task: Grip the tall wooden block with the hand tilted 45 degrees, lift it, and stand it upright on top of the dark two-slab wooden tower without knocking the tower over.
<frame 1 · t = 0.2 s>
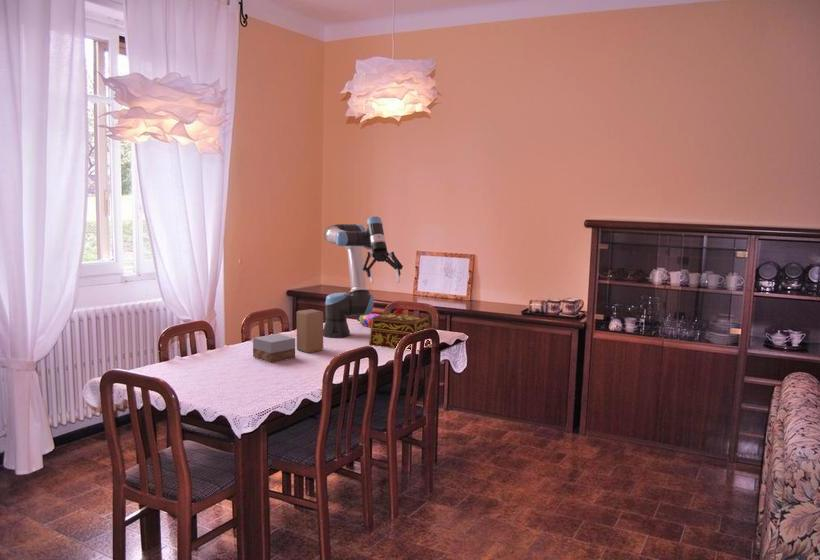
hand: (385, 282, 323), 36 cm above the table, tool tilted 35°, fingers open, 13 cm apart
decorative box: (400, 345, 346), on the table
wooden block: (309, 350, 330), on the table
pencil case: (373, 328, 390), on the table
tower base block: (274, 358, 314), on the table, touching tower top block
educational toy: (400, 334, 375), on the table
tower top block: (274, 348, 313), point 5 cm above the table, touching tower base block
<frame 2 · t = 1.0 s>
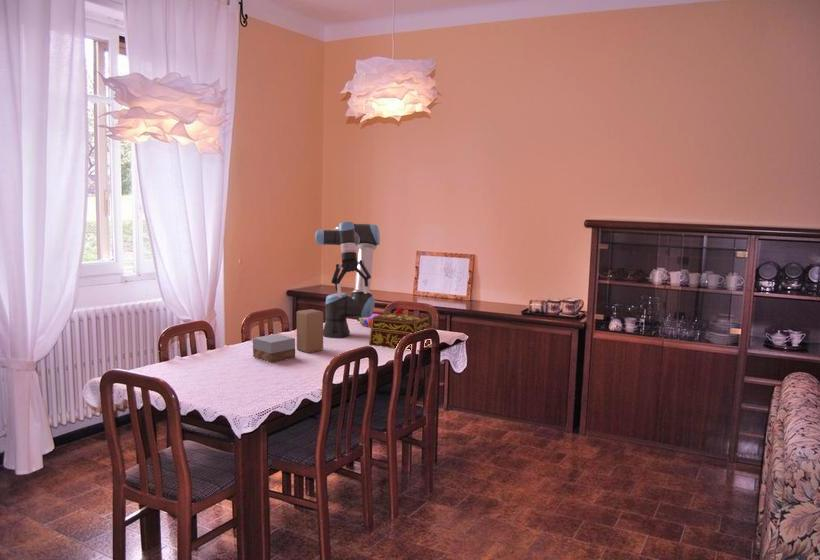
hand: (352, 295, 321), 29 cm above the table, tool tilted 20°, fingers open, 13 cm apart
tower base block: (274, 358, 314), on the table
tower top block: (273, 348, 313), point 4 cm above the table
everything else where it was.
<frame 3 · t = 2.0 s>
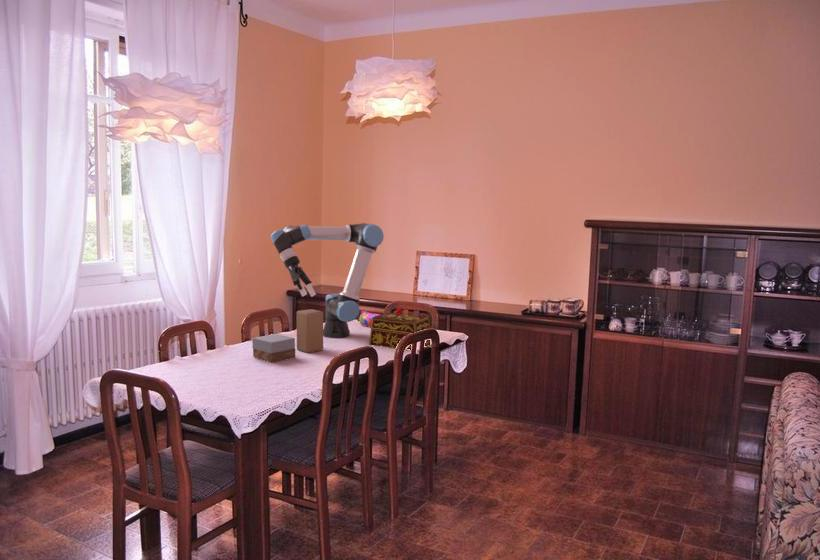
hand: (309, 295, 330), 27 cm above the table, tool tilted 35°, fingers open, 13 cm apart
tower base block: (274, 358, 314), on the table, touching tower top block
tower top block: (273, 348, 313), point 5 cm above the table, touching tower base block
everything else where it was.
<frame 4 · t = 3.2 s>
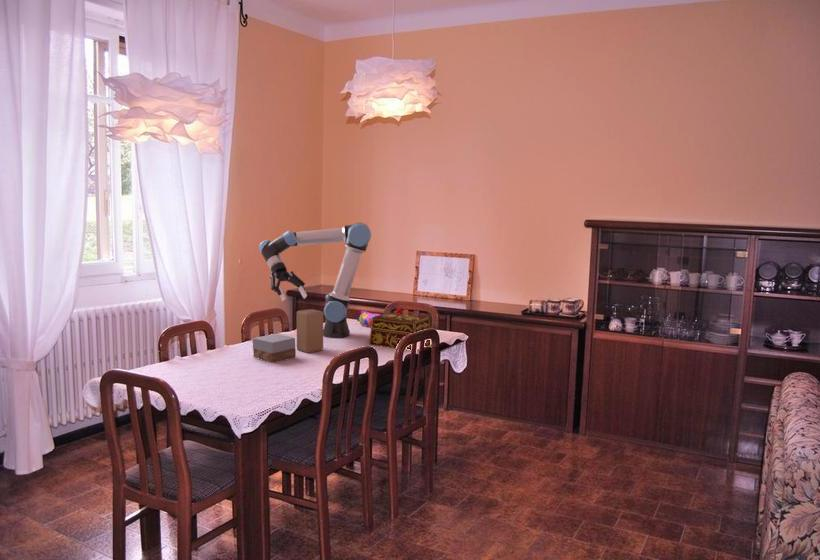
hand: (295, 298, 334), 25 cm above the table, tool tilted 45°, fingers open, 13 cm apart
nothing on the table moved.
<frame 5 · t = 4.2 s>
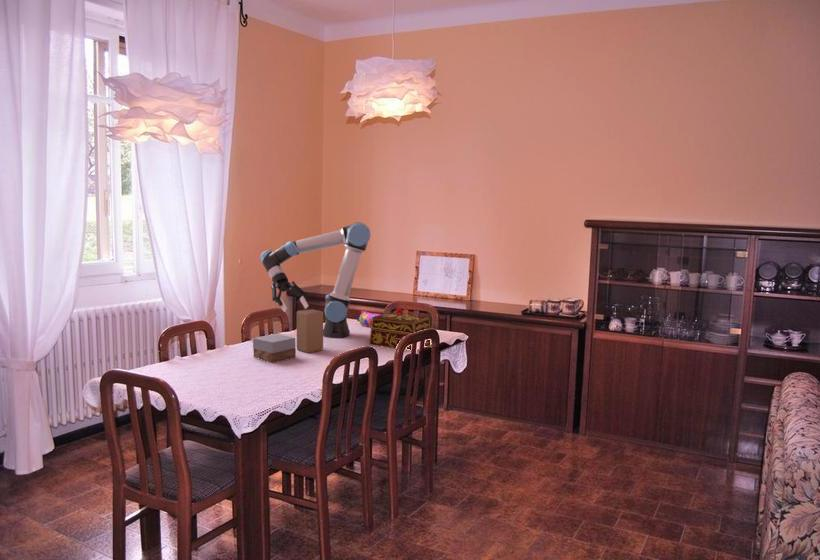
hand: (296, 308, 334), 20 cm above the table, tool tilted 45°, fingers open, 13 cm apart
nothing on the table moved.
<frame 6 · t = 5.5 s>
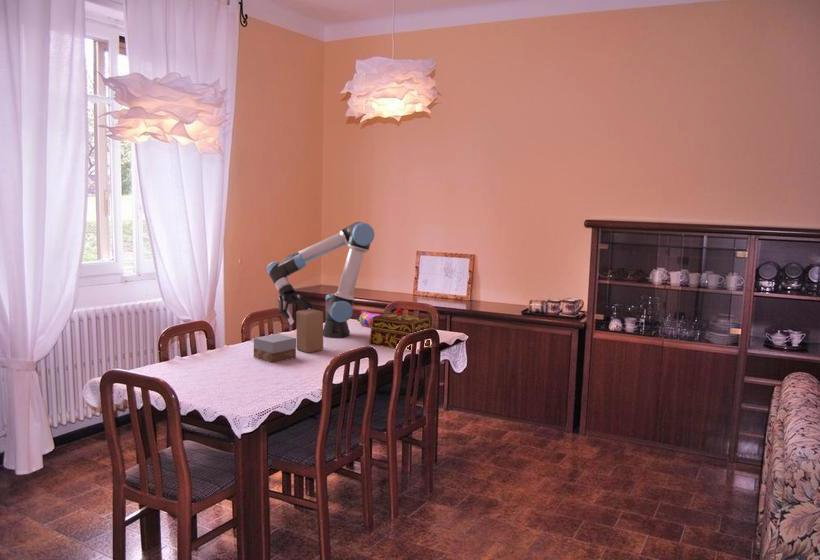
hand: (303, 321, 330), 14 cm above the table, tool tilted 45°, fingers open, 13 cm apart
wooden block: (309, 350, 330), on the table, touching gripper
tower base block: (274, 358, 314), on the table
tower top block: (275, 348, 313), point 5 cm above the table
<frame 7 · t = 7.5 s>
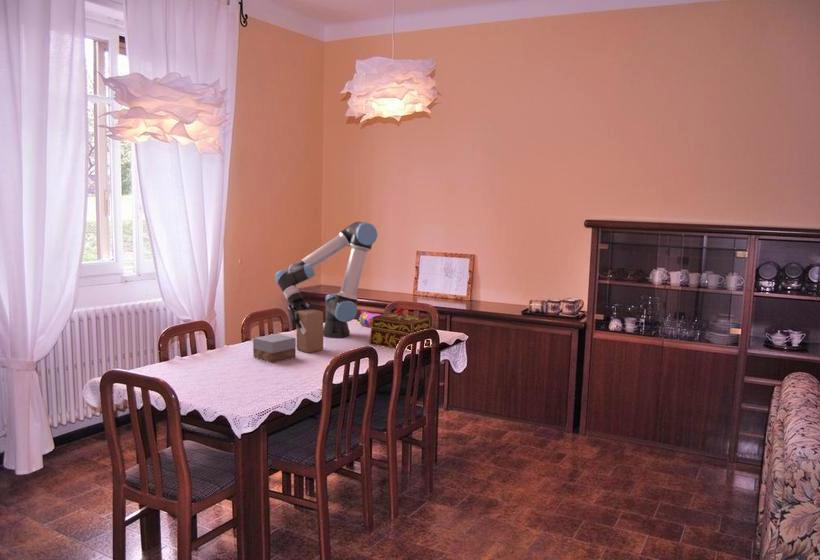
hand: (313, 331, 327), 10 cm above the table, tool tilted 45°, fingers closed on wooden block, 10 cm apart
wooden block: (309, 350, 330), on the table, touching gripper
tower base block: (274, 358, 314), on the table, touching tower top block
tower top block: (274, 348, 313), point 5 cm above the table, touching tower base block
when the fingers open (21 cm above the table, at t = 13.7 s): wooden block drops 2 cm, point 10 cm above the table.
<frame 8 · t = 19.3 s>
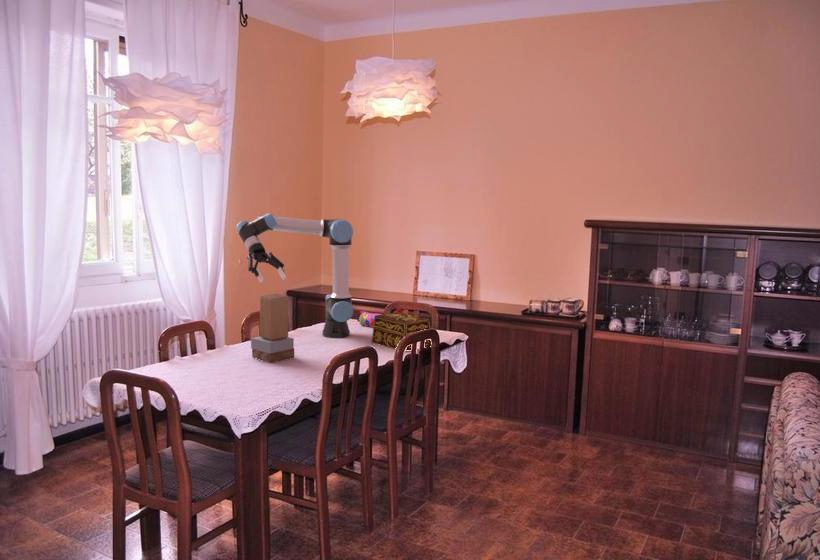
hand: (273, 279, 322), 36 cm above the table, tool tilted 45°, fingers open, 13 cm apart
wooden block: (274, 338, 312), point 10 cm above the table
tower top block: (272, 348, 312), point 5 cm above the table, touching tower base block
at the end: wooden block inside the target area on the tower base block (0.4 cm from its centre), point 9.8 cm above the tower base block's base; wooden block tilted 0°; tower top block moved 1.1 cm from its start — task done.
